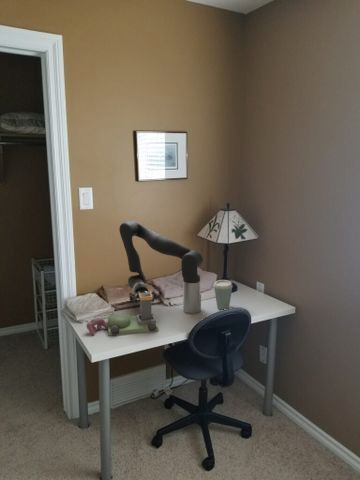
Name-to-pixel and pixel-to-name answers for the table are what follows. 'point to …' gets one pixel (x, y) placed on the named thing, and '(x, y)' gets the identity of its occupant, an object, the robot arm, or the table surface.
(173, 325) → the table surface
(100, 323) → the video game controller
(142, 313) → the orange-capped grey post
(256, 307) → the table surface
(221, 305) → the disposable coffee cup
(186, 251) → the robot arm
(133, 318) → the toy lawn mower
